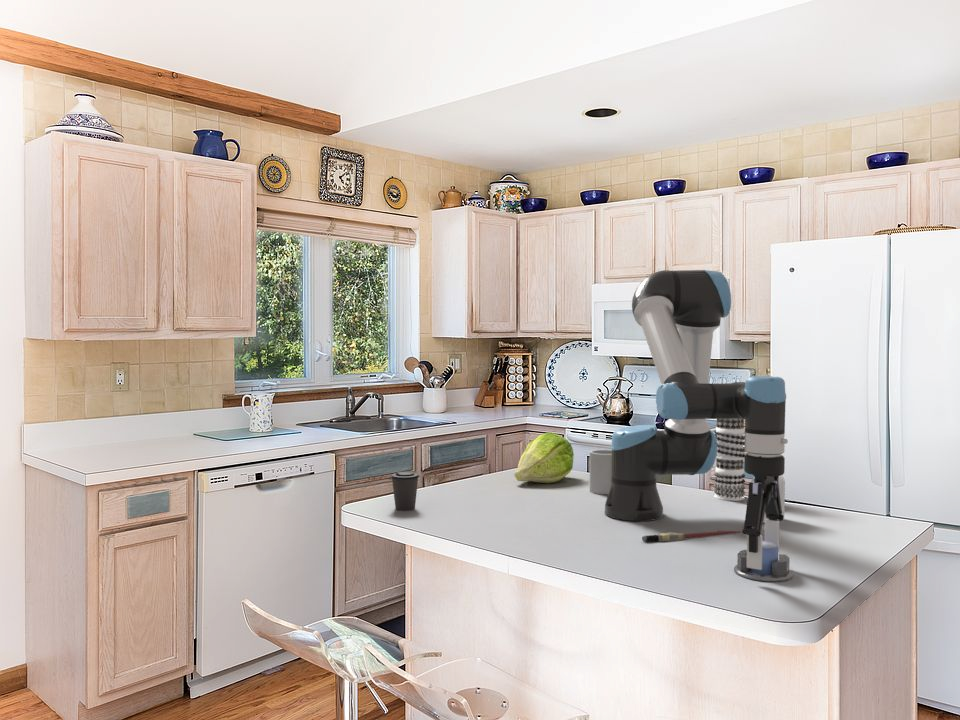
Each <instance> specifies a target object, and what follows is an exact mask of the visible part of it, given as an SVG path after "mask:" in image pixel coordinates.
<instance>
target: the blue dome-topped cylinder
mask: <svg viewBox="0 0 960 720" xmlns="http://www.w3.org/2000/svg"><path fill="white" fill-rule="evenodd" d="M777 560H779V552H778V546H777V545H775V544H774V543H771V542H766V541H764V540H762V569H761V570H759V569H753V568H749V571H751V572H753V573H756V574H761V575H772V561H777Z"/></svg>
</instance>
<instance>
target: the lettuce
mask: <svg viewBox="0 0 960 720" xmlns="http://www.w3.org/2000/svg"><path fill="white" fill-rule="evenodd" d="M574 454H575V453H574V448H573V446H572V444H571V443H570V441H569V440H568V439H566V438H565V437H564V436H561V435H560V434H557V433H555V432H551V431H549V432H546V433H542V434H540V435H538V436H537V437H535V438H534V439H533V440H531V441H530V442H529V443H528V444H527V445H526V448H525V449H524V451H523V453H522V454H521V456H520V459H519V461H518V465H517V468H516V470H515V473H514V477H515V480H517V482H534V483H538V484H540V483H544V484H553V483H557V481H558V482H560V480H562V479H564V478H565V477H566V476H568V474H569V473H571V471H572V470H573V466H574V465H573V464H574V456H575V455H574Z"/></svg>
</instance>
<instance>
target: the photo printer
mask: <svg viewBox="0 0 960 720" xmlns="http://www.w3.org/2000/svg"><path fill="white" fill-rule="evenodd" d="M754 478H755V477H753V478H752V480H751V481H750V482H751V483H754ZM778 480H779V492H780V500H781V509H782V514H781V515H783V516H784V517H783V520H784V519H785V499H786V497H785V495H786V493H785V492H786V480H785V478H784V476H783V475H781V476H779V478H778ZM765 519H769V518H766V514H764V519H763V524H765Z"/></svg>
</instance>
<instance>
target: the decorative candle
mask: <svg viewBox="0 0 960 720" xmlns="http://www.w3.org/2000/svg"><path fill="white" fill-rule="evenodd" d="M713 433H714V434H715V436H716V439H717V443H716V445H717V455H716V460H715V465H716V466H715V472H714V473H713V475H714V476H715V478H714V479H713V480H714V482H715V483H714V484H713V487H714V490H713V492H714V499H718V500H721V501H731V502H736V501H743V500H745V495H746V492H745V489H746V486H745V485H744V484H745V482H746V480H745V479H744V478H746V474H745V470H744V456H745V455H746V451H745V450H744V443H745V435H744V434H745V419H716V427H715V430H713ZM742 497H744V498H742Z"/></svg>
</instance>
